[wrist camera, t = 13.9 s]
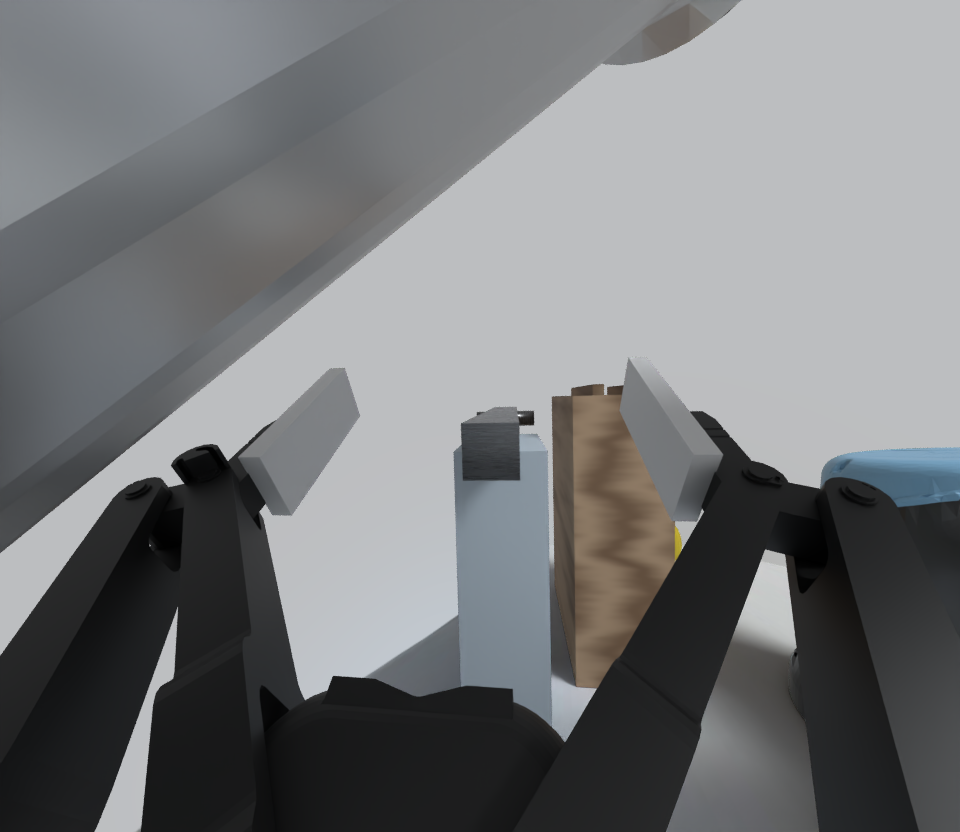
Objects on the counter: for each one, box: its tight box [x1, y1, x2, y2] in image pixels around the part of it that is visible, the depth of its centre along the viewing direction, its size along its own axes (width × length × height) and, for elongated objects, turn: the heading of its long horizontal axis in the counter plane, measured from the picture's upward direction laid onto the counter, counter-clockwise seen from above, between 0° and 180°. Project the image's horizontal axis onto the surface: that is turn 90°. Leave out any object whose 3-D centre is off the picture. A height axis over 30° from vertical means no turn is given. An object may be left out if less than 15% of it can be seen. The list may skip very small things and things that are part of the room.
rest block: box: [454, 434, 552, 727], centre depth 32 cm, size 7×12×24 cm, turn 174°
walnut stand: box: [552, 384, 675, 688], centre depth 41 cm, size 9×18×29 cm, turn 174°
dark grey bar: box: [461, 407, 534, 481], centre depth 31 cm, size 7×28×3 cm, turn 174°
